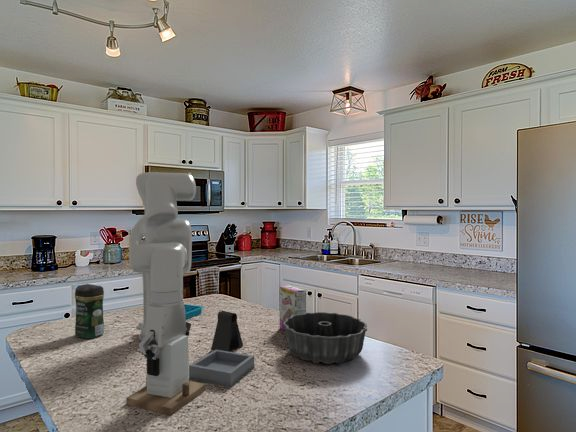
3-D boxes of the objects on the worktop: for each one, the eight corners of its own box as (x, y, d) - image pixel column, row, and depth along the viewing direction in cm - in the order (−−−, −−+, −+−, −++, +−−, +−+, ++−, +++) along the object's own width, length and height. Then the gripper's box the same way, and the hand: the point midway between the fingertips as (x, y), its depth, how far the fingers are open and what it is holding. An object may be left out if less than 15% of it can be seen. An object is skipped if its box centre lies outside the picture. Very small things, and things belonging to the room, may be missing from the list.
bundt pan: (383, 354, 122) (383, 322, 122) (332, 379, 103) (332, 342, 103) (319, 335, 141) (319, 307, 141) (266, 354, 122) (266, 322, 122)
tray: (189, 378, 104) (189, 365, 104) (215, 361, 116) (215, 349, 116) (230, 386, 99) (230, 373, 99) (254, 367, 111) (254, 355, 111)
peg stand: (126, 403, 90) (126, 386, 90) (164, 381, 102) (164, 366, 102) (171, 415, 85) (171, 397, 85) (205, 390, 97) (205, 374, 97)
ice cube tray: (205, 313, 172) (205, 306, 172) (174, 325, 153) (174, 317, 153) (184, 310, 176) (184, 304, 176) (152, 322, 158) (151, 314, 158)
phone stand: (224, 354, 121) (224, 316, 121) (210, 350, 125) (210, 313, 125) (243, 346, 129) (243, 310, 128) (230, 342, 132) (230, 308, 132)
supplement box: (189, 385, 96) (189, 335, 96) (171, 399, 89) (171, 345, 89) (165, 381, 99) (165, 332, 99) (145, 394, 92) (145, 341, 92)
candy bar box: (278, 328, 148) (278, 286, 148) (289, 326, 151) (289, 284, 151) (295, 336, 139) (295, 291, 138) (306, 334, 142) (306, 289, 141)
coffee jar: (70, 336, 139) (70, 285, 138) (91, 330, 145) (90, 281, 145) (88, 341, 134) (87, 287, 134) (108, 334, 141) (107, 284, 141)
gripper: (177, 288, 103) (177, 352, 103) (127, 303, 87) (128, 378, 87) (201, 291, 100) (201, 356, 100) (154, 306, 84) (154, 384, 84)
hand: (167, 367), depth 94 cm, fingers open, 9 cm apart
